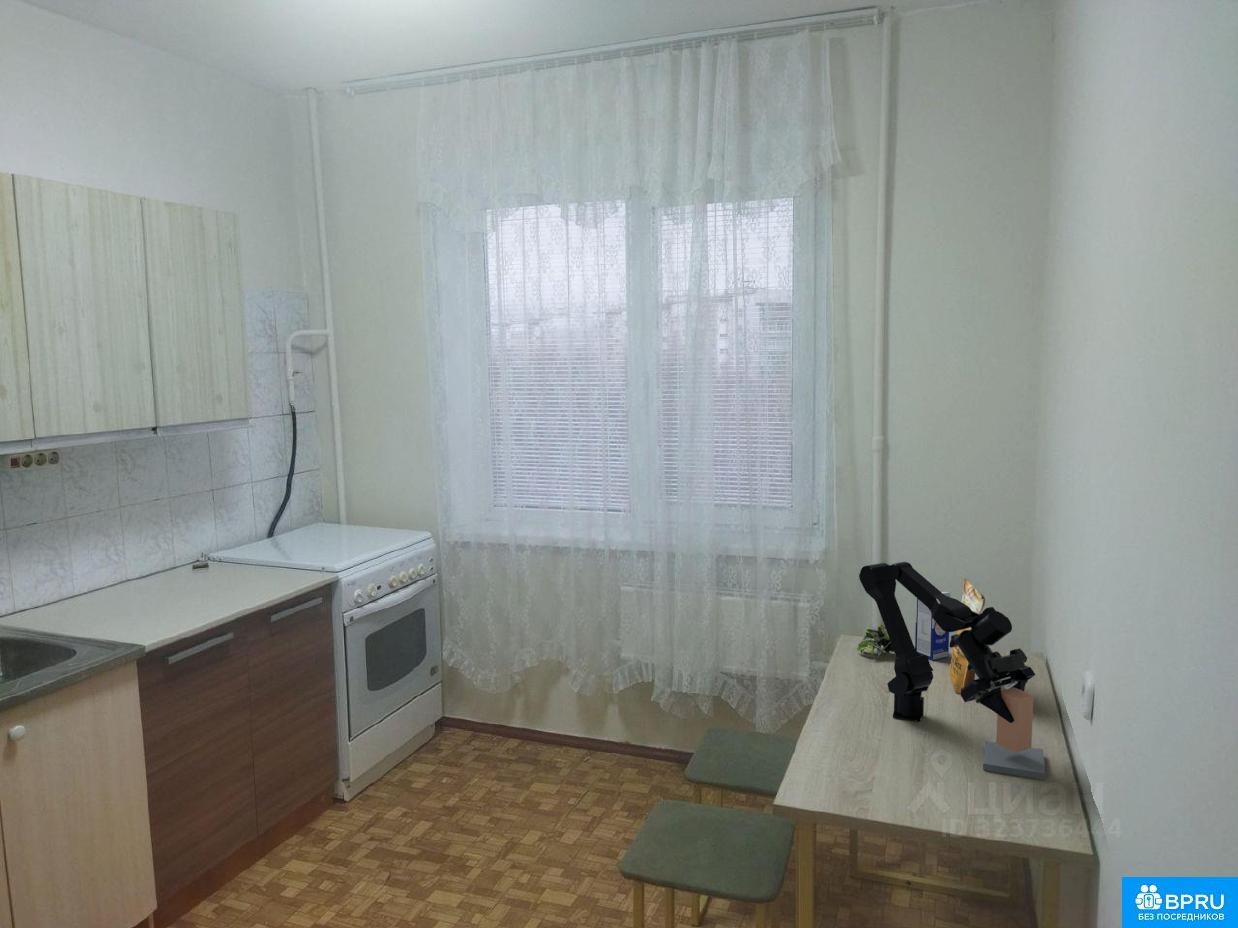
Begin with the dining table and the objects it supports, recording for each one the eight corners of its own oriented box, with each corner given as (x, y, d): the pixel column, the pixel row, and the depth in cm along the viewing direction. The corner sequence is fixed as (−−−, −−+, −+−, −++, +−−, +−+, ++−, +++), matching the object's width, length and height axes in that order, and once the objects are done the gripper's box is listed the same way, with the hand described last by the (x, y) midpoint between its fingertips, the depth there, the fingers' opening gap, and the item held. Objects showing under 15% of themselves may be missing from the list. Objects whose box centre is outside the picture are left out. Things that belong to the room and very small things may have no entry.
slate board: (983, 769, 186) (983, 763, 186) (984, 746, 197) (984, 740, 197) (1044, 780, 181) (1045, 773, 181) (1042, 755, 192) (1043, 749, 192)
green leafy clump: (886, 670, 262) (911, 640, 259) (877, 674, 252) (903, 644, 249) (857, 644, 267) (881, 615, 264) (847, 647, 257) (872, 617, 254)
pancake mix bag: (972, 674, 242) (975, 576, 239) (982, 700, 224) (986, 595, 221) (946, 672, 244) (949, 575, 241) (955, 698, 226) (958, 593, 222)
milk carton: (931, 660, 253) (933, 594, 251) (914, 654, 259) (915, 589, 257) (949, 656, 257) (950, 591, 254) (931, 650, 263) (933, 586, 260)
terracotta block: (996, 743, 190) (998, 691, 188) (1011, 738, 192) (1013, 687, 191) (1016, 752, 186) (1018, 699, 184) (1031, 747, 188) (1033, 694, 186)
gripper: (973, 645, 185) (1016, 712, 177) (1029, 630, 194) (1073, 694, 186) (942, 669, 193) (982, 734, 185) (998, 654, 202) (1038, 716, 193)
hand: (1020, 719), depth 187 cm, fingers closed on terracotta block, 5 cm apart
